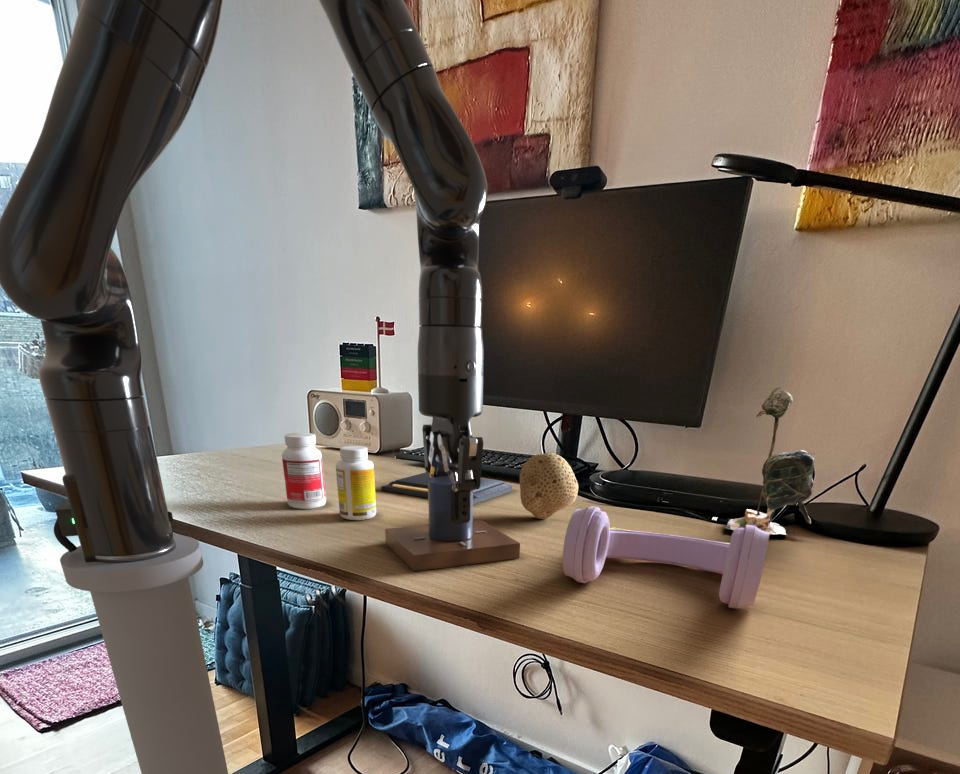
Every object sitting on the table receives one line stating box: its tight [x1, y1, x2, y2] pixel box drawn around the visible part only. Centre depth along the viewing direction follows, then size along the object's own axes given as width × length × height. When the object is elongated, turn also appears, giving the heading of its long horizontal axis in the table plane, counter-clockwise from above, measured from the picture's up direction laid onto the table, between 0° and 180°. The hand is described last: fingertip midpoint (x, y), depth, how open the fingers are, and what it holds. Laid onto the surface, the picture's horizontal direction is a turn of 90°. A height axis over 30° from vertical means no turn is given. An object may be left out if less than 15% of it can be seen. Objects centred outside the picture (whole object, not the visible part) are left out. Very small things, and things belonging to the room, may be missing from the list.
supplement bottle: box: [335, 445, 377, 521], centre depth 90 cm, size 6×6×10 cm
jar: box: [427, 476, 474, 542], centre depth 76 cm, size 6×6×7 cm
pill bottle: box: [281, 432, 327, 510], centre depth 96 cm, size 6×6×11 cm
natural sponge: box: [519, 452, 579, 520], centre depth 92 cm, size 9×9×10 cm
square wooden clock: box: [384, 519, 521, 572], centre depth 78 cm, size 14×12×2 cm
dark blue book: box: [380, 471, 513, 506], centre depth 110 cm, size 20×2×15 cm
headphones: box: [562, 506, 770, 609], centre depth 69 cm, size 20×10×20 cm
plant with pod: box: [724, 386, 815, 536], centre depth 85 cm, size 8×11×20 cm
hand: (450, 515), depth 76 cm, fingers open, 6 cm apart
